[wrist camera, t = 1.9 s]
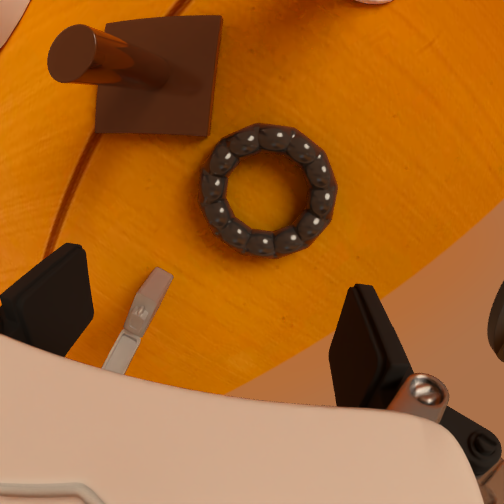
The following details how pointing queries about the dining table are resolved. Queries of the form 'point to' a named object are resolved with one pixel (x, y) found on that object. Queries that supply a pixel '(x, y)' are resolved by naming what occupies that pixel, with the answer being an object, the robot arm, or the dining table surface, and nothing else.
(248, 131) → the studded rubber donut
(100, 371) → the robot arm
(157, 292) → the lighter
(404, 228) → the dining table surface
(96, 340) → the dining table surface
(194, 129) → the square plate with peg
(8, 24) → the kettle
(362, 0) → the candle
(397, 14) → the dining table surface
